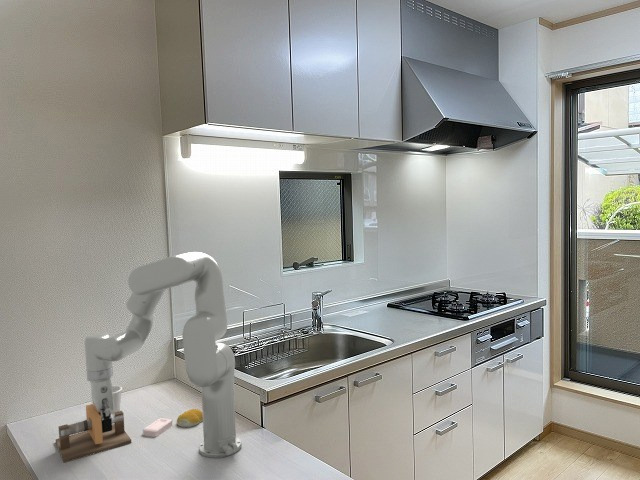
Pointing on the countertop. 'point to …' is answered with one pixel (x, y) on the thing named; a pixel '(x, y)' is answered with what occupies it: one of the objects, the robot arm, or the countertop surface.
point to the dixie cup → (116, 398)
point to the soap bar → (157, 427)
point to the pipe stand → (90, 438)
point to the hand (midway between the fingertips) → (103, 426)
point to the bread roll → (190, 418)
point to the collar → (94, 424)
